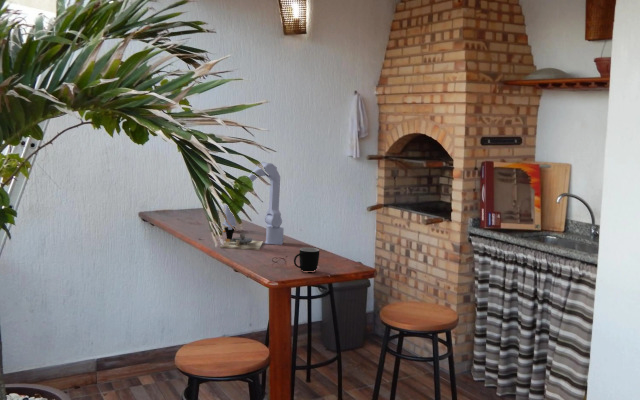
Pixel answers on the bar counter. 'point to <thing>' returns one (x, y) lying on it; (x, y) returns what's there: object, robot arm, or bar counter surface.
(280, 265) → the bar counter surface
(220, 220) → the supplement box
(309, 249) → the mug
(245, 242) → the flange
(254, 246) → the base
